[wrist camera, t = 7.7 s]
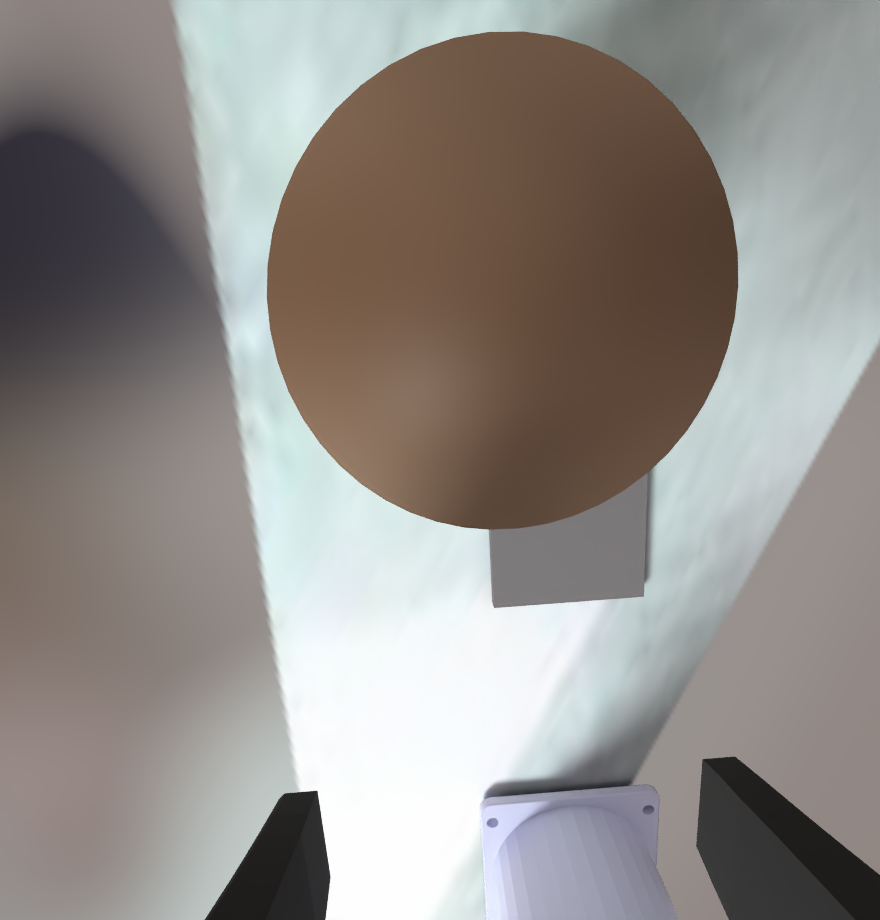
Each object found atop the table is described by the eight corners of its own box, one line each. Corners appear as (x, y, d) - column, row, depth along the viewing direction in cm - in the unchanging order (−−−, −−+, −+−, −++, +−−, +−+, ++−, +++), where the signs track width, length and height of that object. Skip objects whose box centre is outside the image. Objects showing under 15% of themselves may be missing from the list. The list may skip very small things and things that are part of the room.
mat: (638, 590, 19) (643, 596, 19) (492, 601, 19) (494, 607, 19) (643, 420, 18) (649, 423, 17) (484, 432, 18) (486, 434, 17)
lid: (628, 455, 9) (728, 507, 6) (346, 483, 9) (308, 550, 6) (626, 139, 8) (749, 7, 5) (301, 169, 8) (223, 56, 5)
